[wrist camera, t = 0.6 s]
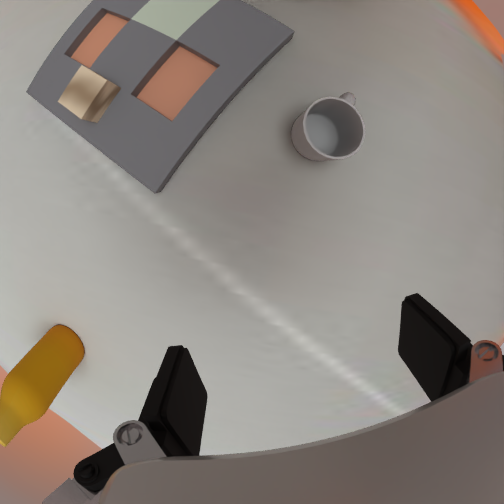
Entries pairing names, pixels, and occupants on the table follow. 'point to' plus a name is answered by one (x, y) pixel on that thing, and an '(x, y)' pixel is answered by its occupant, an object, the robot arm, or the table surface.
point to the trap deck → (158, 74)
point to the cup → (329, 129)
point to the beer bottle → (38, 380)
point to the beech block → (88, 94)
